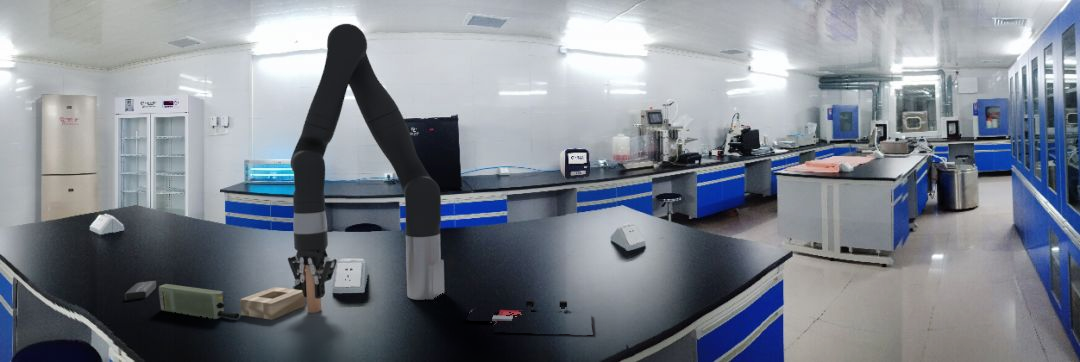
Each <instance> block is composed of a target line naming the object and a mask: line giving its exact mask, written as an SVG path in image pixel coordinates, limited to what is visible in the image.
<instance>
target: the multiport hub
mask: <svg viewBox="0 0 1080 362" xmlns="http://www.w3.org/2000/svg"><path fill="white" fill-rule="evenodd" d="M156 288H157V280H148V281H141V282H140V281H139V282H136V283H135V284H134V285H133V286H131V287H130V288H129V289H128V290H127V291H125V293H124V298H125V299H124V300H125V301H133V300H134V301H135V300H141V299H146V298H148V297H149V296H150V295H151V294H152V292H153V291H154V290H156Z"/></svg>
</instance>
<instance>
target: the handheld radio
mask: <svg viewBox="0 0 1080 362" xmlns="http://www.w3.org/2000/svg"><path fill="white" fill-rule="evenodd" d="M223 293H224V291H221V290H214V289H206V288H199V287H193V286H183V285H176V284H171V283H170V284H168V283H164V284H162V285H159V286H158V295H159V303H160V310H161V311H162V312H163V311H164V312H170V313H175V312H176V314H181V313H182V314H183V315H187V314H188V315H189V316H194V317H200V316H202V317H201V318H206V317H208V319H212V318H213V320H217V319H220V318H223V317H224V318H228V319H233V320H234V319H235V320H237V319H239V317H240V314H239V313H237V312H230V311H224V310H225V309H224V307H225V303H224V301H223V298H224V297H223ZM188 315H187V316H188Z"/></svg>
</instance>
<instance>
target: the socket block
mask: <svg viewBox="0 0 1080 362" xmlns="http://www.w3.org/2000/svg"><path fill="white" fill-rule="evenodd" d="M239 302H240V315H241V316H247V317H251V318H252V317H253V318H259V319H265V320H275V319H277V318H279V317H282V316H284V315H286V314H287V315H288V314H289V313H292V312H293V311H297V310H298V309H300V308H304V307H305V306H306V297H304V296H303V293H302V290H295V289H293V288H287V287H277V286H274V287H271V288H269V289H268V288H267V289H265V290H262V291H260V292H257V293H253V294H251V295H248V296H245V297H243V298H240V301H239Z"/></svg>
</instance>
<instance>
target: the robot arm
mask: <svg viewBox="0 0 1080 362" xmlns="http://www.w3.org/2000/svg"><path fill="white" fill-rule="evenodd" d="M326 49H327V50H326V59H325V62H324V67H323V71H322V74H321V78H320V80H319V83H318V85H317V88H316V91H315V93H314V95H313V98H312V101H311V103H310V106H309V109H308V112H307V115H306V117H305V120H304V123H303V127H302V131H301V134H300V136H299V138H298V141H297V143H296V146H295V147H294V149H293V152H292V154H291V158H290V167H291V170H292V172H293V180H294V192H293V196H292V197H293V199H292V201H293V204H292V205H293V221H292V224H293V225H292V226H293V243H294V244H293V245H294V246H293V247H294V250H295V251H297V252H296V254H295V255H293V256H292V255H291V256H290V257H287V261H288V264H289V267H291V268H290V269H291V273H292V275H293V277H294V280H295V279H296V280H297V279H299V280H300V282H301V283H302V293H303V296H304V297H305V298H307V291H306V270H305V265H310V269H311V274H312V275H313V276H314V281H315V298H317V299H319V298H321V299H322V298H324V296H325V294H326V288H325V287H326V286H325V284H326V282H328V281H330V280H332V278H333V275H334V272H335V268H336V266H337V262H338V261H337V259H336V258H330V257H328V253H327V247H328V245H329V239H328V238H329V236H328V220H327V219H328V218H327V215H326V214H327V212H326V201H325V200H326V198H325V183H326V182H325V181H326V164H325V163H326V162H325V159H324V156H325V153H326V150H327V148H328V145H329V144H330V142H331V141H332V139H333V137H334V135H335V132H336V130H337V126H338V122H339V120H340V115H341V112H342V109H343V105H344V102H345V101H344V100H345V97H346V93H347V91H348V88H349V87H350V90H351V92H352V94H353V96H354V98H355V101H356V102H355V103H356V105H357V106H358V107H357V108H358V110H359V111H360V114H361V115H362V117H363V120H364V123H365V124H366V126H367V128H368V130H369V131H370V132H369V133H370V134H371V135H372V138H373V139H374V141H375V143H377V146H378V147H379V149H380V151H382V153H383V155H384V156H385V157H386V158H387V160H388V162H389V163H390V165H391V166H392V168H393V170H394V173H395V174H396V177H397V179H398V180H399V184H400V187H401V189H402V192H403V196H404V202H405V205H404V206H405V225H404V226H405V255H406V256H405V258H406V259H405V261H406V263H405V265H406V294H407V297H408V299H411V300H415V301H421V300H422V301H423V300H425V299H426V300H435V299H436V298H438V297H440V296H441V295H443V294H445V264H444V263H445V262H444V259H441V258H442V257H441V225H442V224H441V223H442V204H441V203H442V199H441V189H440V186H439V184H438V183H437V182H436V181H435V180H434V179H433V178H432V177H431V176H430V174H429V173H428V171H427V170H426V168H425V166H424V165H423V163H422V161H421V160H420V158H419V156H418V153H417V151H416V148H415V145H414V141H413V138H412V136H411V133H410V130H409V127H408V125H407V123H406V120H405V119H404V117H403V115H402V113H401V111H400V108H399V106H398V105H397V103H396V102H395V100H394V99H393V98H392V96H391V95H390V93H389V92H388V91H387V89H385V86H383V85H382V83H381V82H380V81H379V79H378V77H377V75H376V73H375V71H374V69H373V65H371V62H370V60H369V57H368V54H367V49H368V41H367V38H366V35H365V34H364V32H363V31H362V30H361V28H360V27H358V26H356V25H355V24H352V23H348V22H347V23H341V24H338V25H335V26H334V27H332V29H331V30H330V32H329V33H328V35H327V41H326ZM297 269H298V270H299V273H300V274H298V271H297ZM318 269H320V270H319V271H316V270H318ZM319 274H320V279H319ZM442 293H443V294H442ZM440 294H441V295H440ZM439 295H440V296H439ZM437 296H438V297H437ZM435 297H436V298H435ZM434 298H435V299H434Z"/></svg>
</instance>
